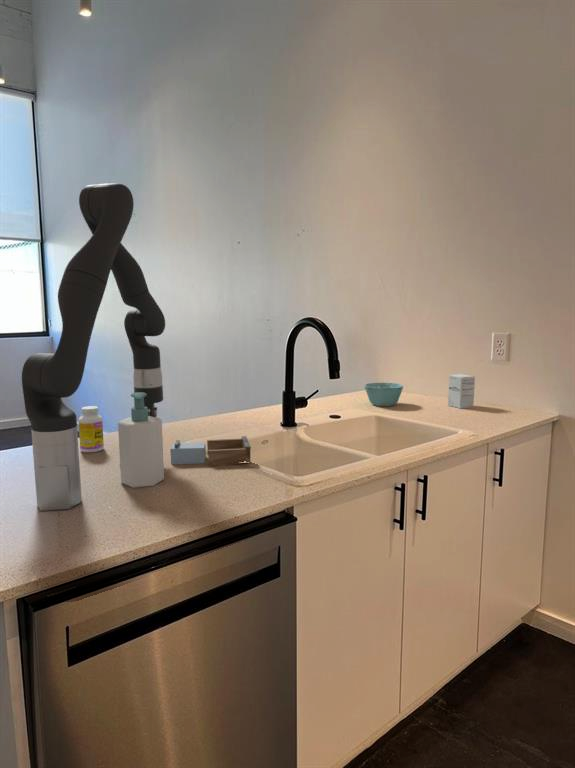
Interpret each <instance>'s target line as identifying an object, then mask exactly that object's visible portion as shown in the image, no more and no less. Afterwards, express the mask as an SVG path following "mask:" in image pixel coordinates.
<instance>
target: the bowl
mask: <svg viewBox="0 0 575 768" xmlns="http://www.w3.org/2000/svg"><path fill="white" fill-rule="evenodd" d="M363 386H364V390H365V392H366V395H367V398H368V400H369V403H371V404H372V405H373V406H375V407H393V406H395V405H397V404H398V402H399V400H400V396H401V394H402V393H403V389H404V385H403V384H401V383H396V382H384V381H383V382H369V383H365V384H364V385H363Z"/></svg>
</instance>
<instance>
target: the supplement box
mask: <svg viewBox="0 0 575 768" xmlns="http://www.w3.org/2000/svg"><path fill="white" fill-rule="evenodd" d="M448 377H449V378H448V394H447V395H448V396H447V406H450V407H454V408H457V409H470V408H474V404H475V403H474V402H475V401H474V399H475V385H476V383H475V381H476V376H474V375H470V374H469V375H468V374H464V373H458V374H449V375H448Z"/></svg>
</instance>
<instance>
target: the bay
mask: <svg viewBox="0 0 575 768" xmlns="http://www.w3.org/2000/svg"><path fill="white" fill-rule="evenodd" d="M206 442H207V443H206V444H207V447H206V448H207V450H206V453H207V455H208V467H209V466H227V465H229V466H230V465H239V464H238V463H239V462H244V461H246V462H250V463H249V464H251V448H252V447H251V445H250V442H249V440H248V437H247V436H246V435H245V436H241V438H223V439H222V438H221V439H219V438H218V439H207V440H206Z"/></svg>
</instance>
